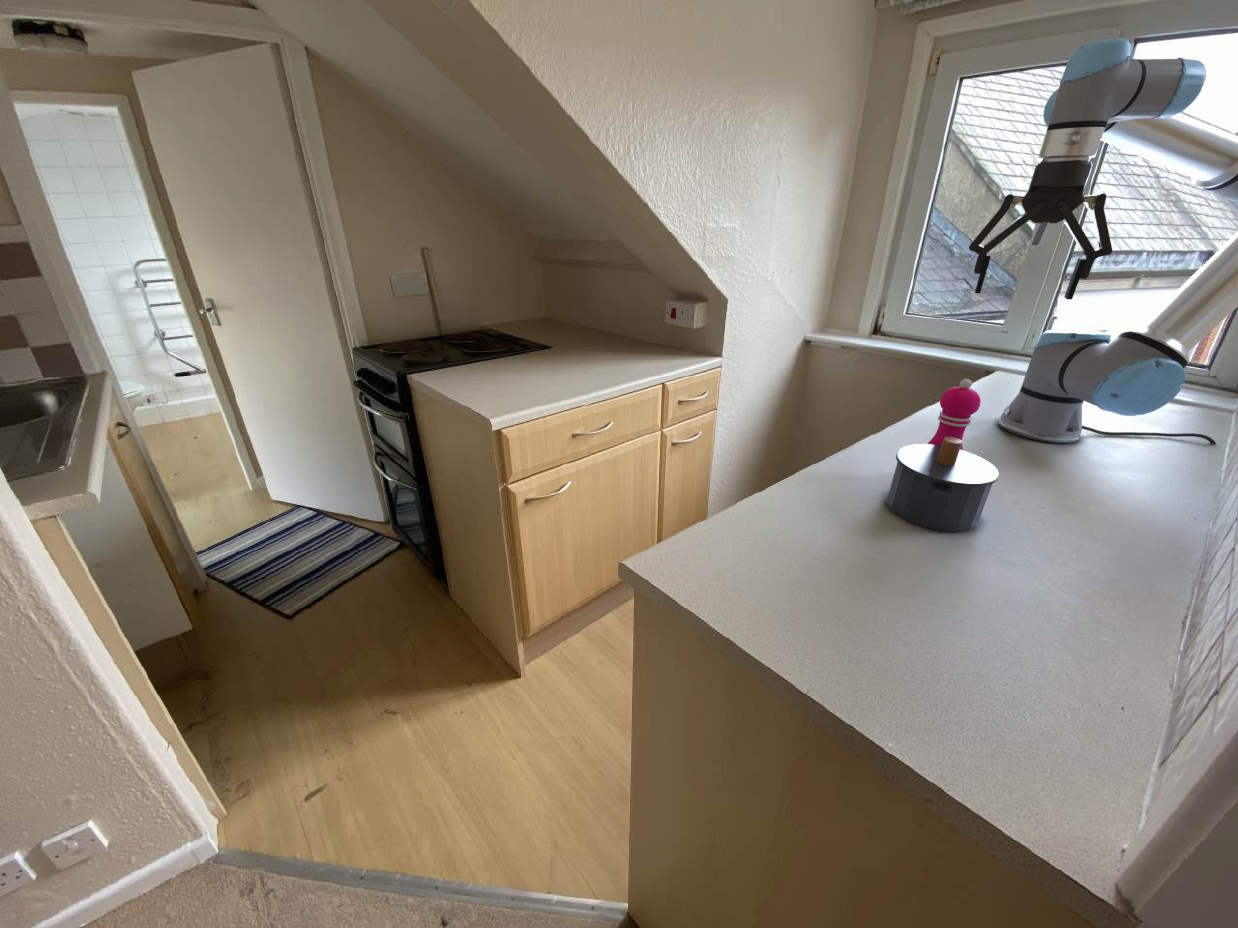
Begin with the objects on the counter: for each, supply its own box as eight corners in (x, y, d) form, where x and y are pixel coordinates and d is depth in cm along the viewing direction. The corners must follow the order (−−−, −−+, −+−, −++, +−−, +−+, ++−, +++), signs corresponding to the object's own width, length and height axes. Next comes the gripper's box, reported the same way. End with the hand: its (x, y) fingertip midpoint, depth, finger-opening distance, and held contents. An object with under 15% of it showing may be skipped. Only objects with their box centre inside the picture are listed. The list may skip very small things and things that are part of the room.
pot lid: (995, 462, 89) (1005, 434, 87) (998, 500, 78) (1010, 468, 75) (899, 443, 96) (907, 416, 93) (889, 475, 84) (897, 445, 82)
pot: (976, 497, 94) (992, 454, 91) (977, 550, 80) (995, 502, 76) (893, 478, 101) (904, 437, 97) (879, 524, 86) (892, 478, 82)
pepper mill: (962, 493, 96) (999, 387, 87) (919, 488, 97) (951, 383, 88) (948, 474, 102) (981, 374, 93) (908, 471, 103) (937, 371, 94)
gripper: (976, 162, 89) (942, 293, 99) (1174, 156, 78) (1114, 304, 87) (975, 164, 95) (943, 287, 104) (1159, 159, 84) (1104, 297, 93)
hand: (1021, 295), depth 96 cm, fingers open, 13 cm apart
